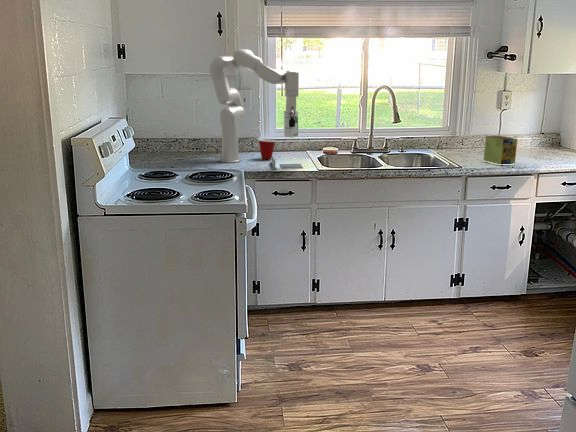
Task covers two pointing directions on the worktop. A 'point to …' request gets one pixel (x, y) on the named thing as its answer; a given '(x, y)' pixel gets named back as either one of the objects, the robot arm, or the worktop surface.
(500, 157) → the protein box
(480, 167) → the worktop surface
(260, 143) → the plastic cup
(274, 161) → the acrylic divider
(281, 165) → the slate mat
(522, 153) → the worktop surface
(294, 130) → the syrup box
